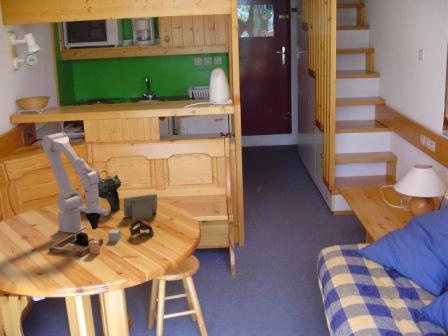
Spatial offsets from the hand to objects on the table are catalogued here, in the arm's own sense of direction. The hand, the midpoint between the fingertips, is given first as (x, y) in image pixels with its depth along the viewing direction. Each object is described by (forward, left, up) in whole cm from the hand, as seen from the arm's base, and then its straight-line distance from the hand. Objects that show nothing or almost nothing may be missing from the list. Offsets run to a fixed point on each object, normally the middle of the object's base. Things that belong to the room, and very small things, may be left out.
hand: (94, 228), depth 242 cm
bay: (0, -13, -3) cm, 13 cm away
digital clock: (+6, +29, -4) cm, 30 cm away
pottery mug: (+19, +8, -4) cm, 21 cm away
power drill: (-18, +31, -4) cm, 36 cm away
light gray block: (+11, -1, -4) cm, 11 cm away
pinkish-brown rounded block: (+11, -16, -3) cm, 20 cm away
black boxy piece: (-1, -8, -4) cm, 9 cm away
